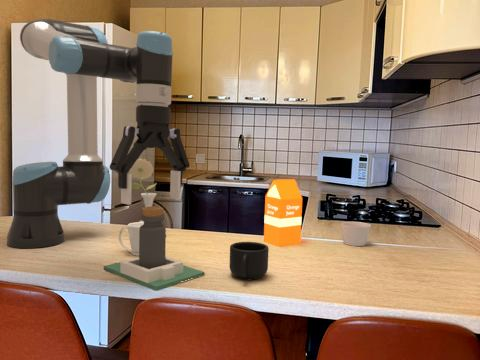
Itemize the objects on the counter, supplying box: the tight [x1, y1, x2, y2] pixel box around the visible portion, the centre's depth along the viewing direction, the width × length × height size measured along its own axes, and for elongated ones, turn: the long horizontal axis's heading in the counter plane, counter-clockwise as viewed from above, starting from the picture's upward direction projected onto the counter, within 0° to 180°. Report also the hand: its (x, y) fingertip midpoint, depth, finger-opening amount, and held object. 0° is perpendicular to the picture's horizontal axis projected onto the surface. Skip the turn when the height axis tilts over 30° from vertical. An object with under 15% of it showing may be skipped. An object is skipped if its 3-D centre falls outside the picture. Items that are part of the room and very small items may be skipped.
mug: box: [229, 241, 270, 280], centre depth 97 cm, size 12×9×7 cm
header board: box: [103, 256, 205, 291], centre depth 99 cm, size 20×14×3 cm
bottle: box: [138, 205, 167, 269], centre depth 95 cm, size 6×6×15 cm
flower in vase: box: [128, 157, 158, 222], centre depth 134 cm, size 13×11×25 cm
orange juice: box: [263, 178, 303, 248], centre depth 131 cm, size 8×9×20 cm
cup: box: [118, 221, 144, 256], centre depth 115 cm, size 7×10×8 cm
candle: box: [341, 221, 372, 247], centre depth 133 cm, size 9×9×6 cm
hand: (151, 200), depth 95 cm, fingers open, 13 cm apart
